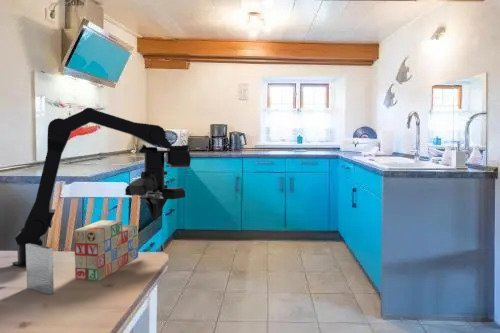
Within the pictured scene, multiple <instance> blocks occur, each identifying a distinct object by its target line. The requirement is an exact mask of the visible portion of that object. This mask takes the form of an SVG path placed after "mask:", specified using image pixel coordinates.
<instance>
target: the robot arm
mask: <svg viewBox="0 0 500 333" xmlns="http://www.w3.org/2000/svg"><path fill="white" fill-rule="evenodd" d="M90 123H91V124H95V125H98V126H102V127H105V128H107V129H111V130H114V131H118V132H121V133H125V134H128V135H131V136H132V137H134V138H137V139H138V140H140V141H142V142H144V143H146V144H148V145H151V146H147V145H146V144H142V145H141V147H140V148H139V149H137V153H140V154H141V153H144V171H141V173H140V178H137V179H134V181H132V182H130V183H129V184H128V185H127V186H126V188H125V194H124V195H125V196H139V199H140V200H142V201H143V202H144V203H145V204H146V206H147V208H148V211H149V214H150V217H151V219H152V221H154V222H155V221H157V220H158V219H159V218H160V215H161V213H162V210H163V209H164V206H165V205H166V203H167V201H168V200H178V199H182V198H186V191H185V189H184V188H183V187H178V186H177V187H176V186H173V187H168V184H165V183H166V182H165V176H166V175H168V171H167V170H165V165H169V168H170V169H171V168H172V169H173V168H175V169H176V168H178V169H179V168H190V166H191V161H192V160H191V158H192V157H191V153H190V150H189V145H188V144H183V145H172V144H171V142H170V141H169V139H167V136H166V135H167V134H166V131H165V129H164V127H162V126H160V125H157V124H149V123H143V122H141V123H140V122H135V121H132V120H128V119H125V118H122V117H119V116H115V115H113V114H109V113H106V112H103V111H100V110H96V109H95V108H93V107H85V108H84V109H83V110H81V111H79V112H77V113H75V114H72V115H70V116H67V117H66V118H61V117H60V118H59V117H58V118H54V119H52V120H51V121H50V122H49V123H48V126H47V142H46V144H47V148H46V149H47V151H46V155H45V160H44V164H43V168H42V172H41V177H40V181H39V185H38V188H37V193H36V197H35V200H34V203H33V205H32V207H31V209H30V212H29V214H28V216H27V218H26V220H25V223H24V227H22V228H21V229H20V230H19V232H17V235H16V236H15V238H14V239H15V241H16V244H17V245H16V247H17V261H13V262H12V264H11V265H13V266H17V267H21V268H24V269H25V268H26V244H29V243H30V244H35V245H40V246H44V245H43V240H42V239H41V237H42V236H44V235H46V233H47V232H48V229H49V228H50V229H51V228H52V226H53V223H54V222H53V218H54V215H55V213H56V209H55V208H54V209H52V208H51V202H52V197H53V193H54V189H55V185H56V180H57V177H58V173H59V172H58V171H59V167H60V164H61V160H62V155H63V152H64V150H65V148H66V146H67V144H68V141H69V139H70V138H71V135H72V133H73V132H74V131H76V130H78V129H80V128H83V126H86V125H88V124H90ZM152 145H153V146H152ZM157 147H159V148H160V149H166V150H158V148H157Z"/></svg>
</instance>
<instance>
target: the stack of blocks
mask: <svg viewBox="0 0 500 333" xmlns="http://www.w3.org/2000/svg"><path fill="white" fill-rule="evenodd" d="M73 232H74V234H73V235H74V244H73V245H74V261H75V263H74V264H75V265H74V267H75V268H74V270H75V275H74V276H75V280H80V281H81V280H82V281H94V282H96V281H101V280H103V279H104V278H106V277H108V276H110V275H112V274H114V272H117V271H118V270H119V269H120V268H122V267H123V266H125V265H127V264H128V263H131V262H132V261H134V260H136V259H137V258H138V257H139V236H138V225H136V224H135V225H134V224H123V221H122V220H104V219H101V220H97V221H96V222H93V223H90V224H88V225H85V226H82V227H79V228H77V229H74V230H73Z"/></svg>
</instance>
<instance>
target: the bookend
mask: <svg viewBox="0 0 500 333" xmlns="http://www.w3.org/2000/svg"><path fill="white" fill-rule="evenodd" d="M53 249H54V248H53V247H51V246H50V247H49V246H45V245H43V246H40V245H35V244H30V243H29V244H26V271H25V272H26V289H29V290H32V291H36V292H39V293H43V294H46V295H53V294H54V293H55V289H54V287H55V285H54V252H53Z"/></svg>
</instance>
